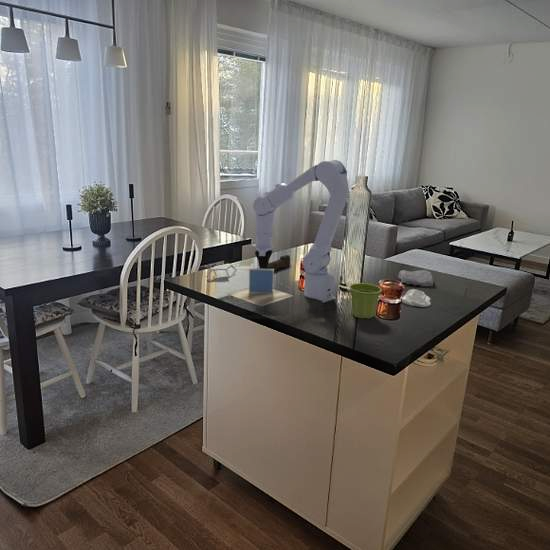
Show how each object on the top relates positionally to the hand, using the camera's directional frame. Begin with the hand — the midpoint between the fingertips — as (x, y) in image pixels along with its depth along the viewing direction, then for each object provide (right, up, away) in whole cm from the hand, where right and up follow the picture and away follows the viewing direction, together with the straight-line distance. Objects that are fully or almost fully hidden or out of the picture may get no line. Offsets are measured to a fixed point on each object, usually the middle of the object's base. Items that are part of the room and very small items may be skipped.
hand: (263, 271), depth 165 cm
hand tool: (+4, +1, +26) cm, 26 cm away
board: (-1, -8, -8) cm, 12 cm away
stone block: (+56, -4, +14) cm, 58 cm away
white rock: (+50, -10, -8) cm, 51 cm away
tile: (-1, -7, -6) cm, 9 cm away
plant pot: (+30, -13, -21) cm, 39 cm away
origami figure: (-14, -3, +11) cm, 18 cm away
